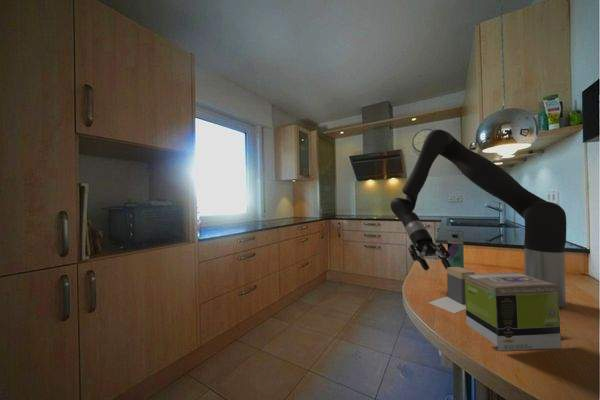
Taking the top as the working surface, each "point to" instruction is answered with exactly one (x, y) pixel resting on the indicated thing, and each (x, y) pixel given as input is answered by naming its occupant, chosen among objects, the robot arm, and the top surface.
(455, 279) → the block
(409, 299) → the top surface
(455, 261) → the spray can
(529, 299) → the tea box
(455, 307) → the board
